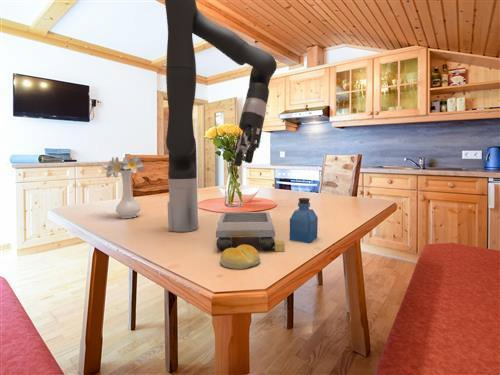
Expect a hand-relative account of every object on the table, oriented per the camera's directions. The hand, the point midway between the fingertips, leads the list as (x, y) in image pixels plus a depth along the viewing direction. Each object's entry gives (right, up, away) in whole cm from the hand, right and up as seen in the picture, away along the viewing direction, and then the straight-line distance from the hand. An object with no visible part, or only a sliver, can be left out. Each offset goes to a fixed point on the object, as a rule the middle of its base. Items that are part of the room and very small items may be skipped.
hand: (242, 164), depth 90 cm
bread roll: (0, -25, -23) cm, 34 cm away
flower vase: (-48, -20, +28) cm, 59 cm away
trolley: (+3, -23, -9) cm, 25 cm away
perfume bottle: (+18, -23, -5) cm, 30 cm away
